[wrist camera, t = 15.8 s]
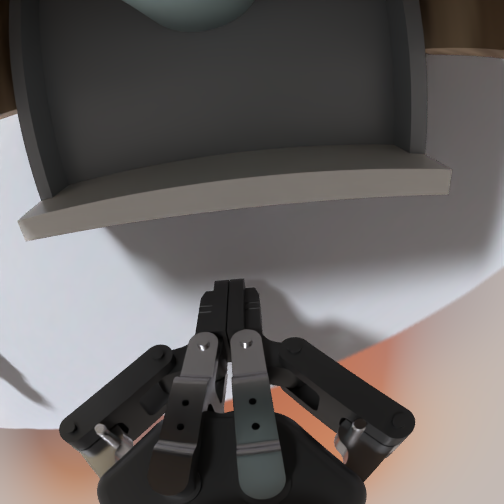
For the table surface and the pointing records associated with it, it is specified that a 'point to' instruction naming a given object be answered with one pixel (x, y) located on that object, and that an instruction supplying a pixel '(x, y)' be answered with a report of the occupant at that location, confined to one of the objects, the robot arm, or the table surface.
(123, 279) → the table surface
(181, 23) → the pale green rounded part
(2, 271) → the table surface
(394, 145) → the drawer
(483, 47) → the open wooden cubby
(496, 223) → the table surface
